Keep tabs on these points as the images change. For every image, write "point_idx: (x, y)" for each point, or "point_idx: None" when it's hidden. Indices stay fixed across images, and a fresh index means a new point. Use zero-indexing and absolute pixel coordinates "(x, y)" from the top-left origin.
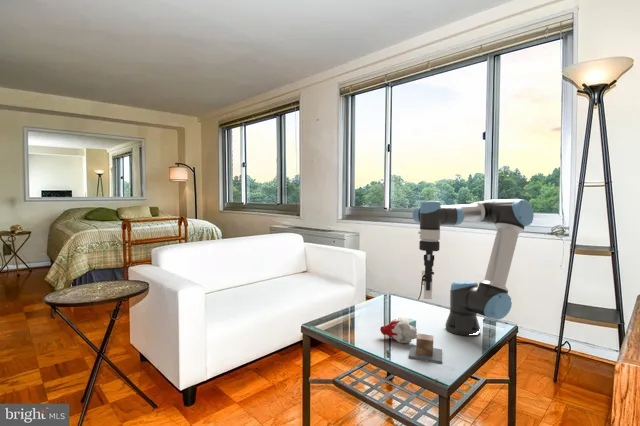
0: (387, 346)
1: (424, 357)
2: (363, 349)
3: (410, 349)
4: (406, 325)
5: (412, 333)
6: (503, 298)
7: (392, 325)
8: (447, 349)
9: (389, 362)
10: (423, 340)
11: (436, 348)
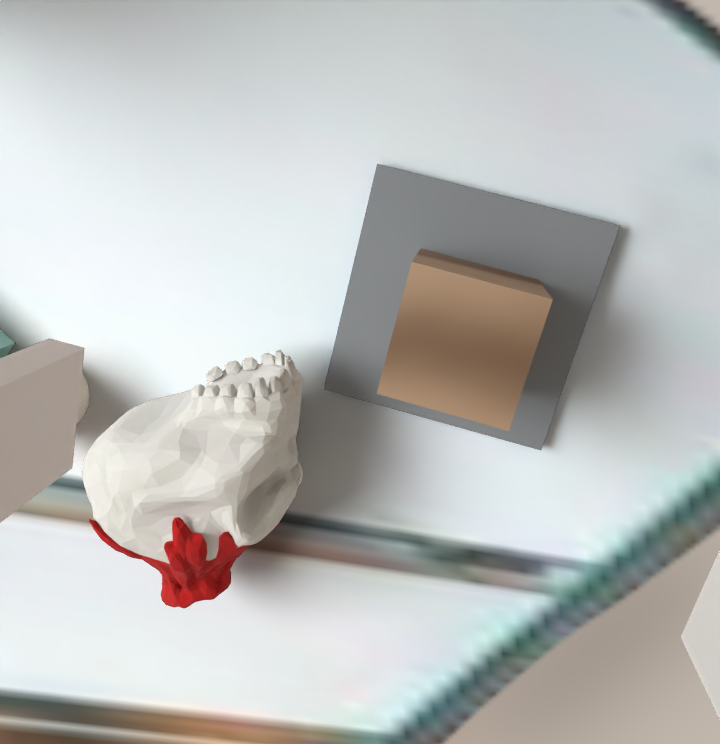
0: (357, 544)
1: (558, 343)
2: (435, 693)
3: (423, 413)
4: (257, 473)
5: (296, 406)
6: None
7: (212, 558)
8: (331, 107)
9: (624, 575)
10: (526, 374)
11: (368, 208)
